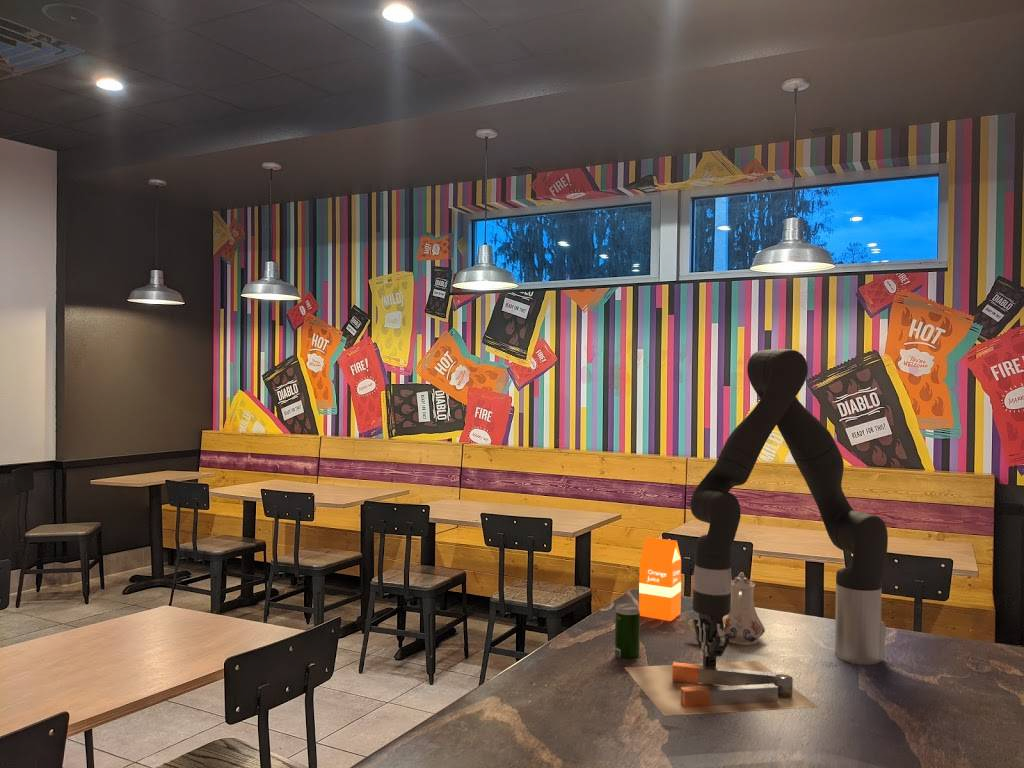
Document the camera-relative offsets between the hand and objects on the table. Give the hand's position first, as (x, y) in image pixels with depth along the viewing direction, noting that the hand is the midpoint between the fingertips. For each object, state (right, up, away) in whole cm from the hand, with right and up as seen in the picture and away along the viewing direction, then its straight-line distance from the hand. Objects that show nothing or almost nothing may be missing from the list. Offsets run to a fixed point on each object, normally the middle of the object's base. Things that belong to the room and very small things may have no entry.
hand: (709, 673), depth 161 cm
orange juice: (-1, -2, +49) cm, 49 cm away
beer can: (-15, -3, +14) cm, 20 cm away
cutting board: (0, -3, -3) cm, 4 cm away
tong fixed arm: (+1, -1, -11) cm, 12 cm away
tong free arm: (+3, -1, -5) cm, 6 cm away
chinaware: (+12, -3, +31) cm, 34 cm away
